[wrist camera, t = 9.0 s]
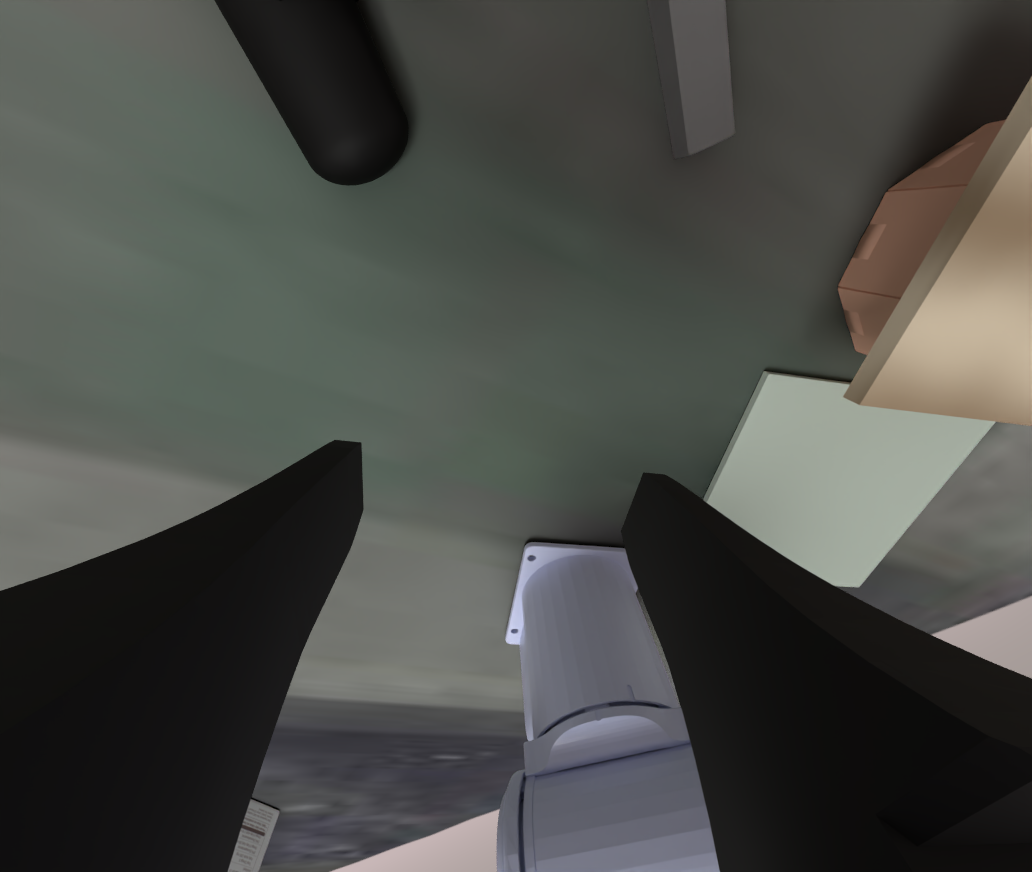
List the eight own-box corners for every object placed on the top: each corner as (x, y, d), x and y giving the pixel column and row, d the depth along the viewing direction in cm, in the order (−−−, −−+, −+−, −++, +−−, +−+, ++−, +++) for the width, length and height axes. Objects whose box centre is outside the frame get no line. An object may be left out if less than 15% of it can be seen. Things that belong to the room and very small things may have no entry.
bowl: (964, 368, 20) (1067, 399, 16) (806, 345, 19) (880, 373, 15) (1121, 153, 15) (1306, 133, 12) (928, 106, 14) (1069, 69, 11)
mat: (854, 582, 27) (858, 587, 27) (668, 571, 26) (671, 575, 25) (1000, 402, 21) (1008, 405, 20) (763, 371, 19) (768, 373, 19)
